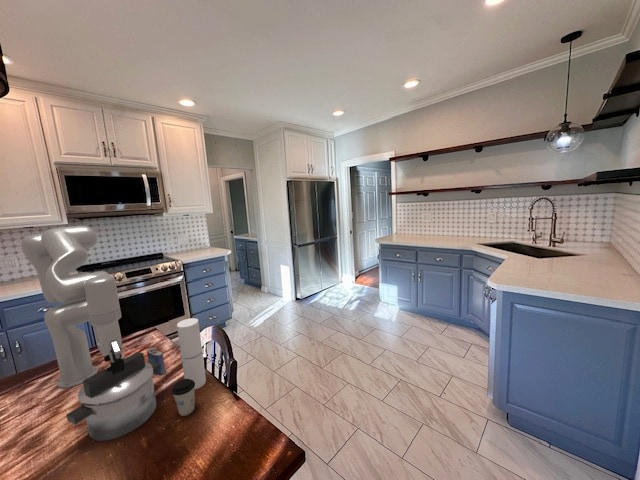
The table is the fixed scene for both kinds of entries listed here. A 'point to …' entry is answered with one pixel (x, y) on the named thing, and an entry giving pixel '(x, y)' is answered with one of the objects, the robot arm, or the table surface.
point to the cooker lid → (116, 382)
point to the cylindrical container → (191, 351)
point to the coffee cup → (184, 396)
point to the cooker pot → (118, 413)
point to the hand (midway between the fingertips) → (114, 365)
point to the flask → (156, 359)
